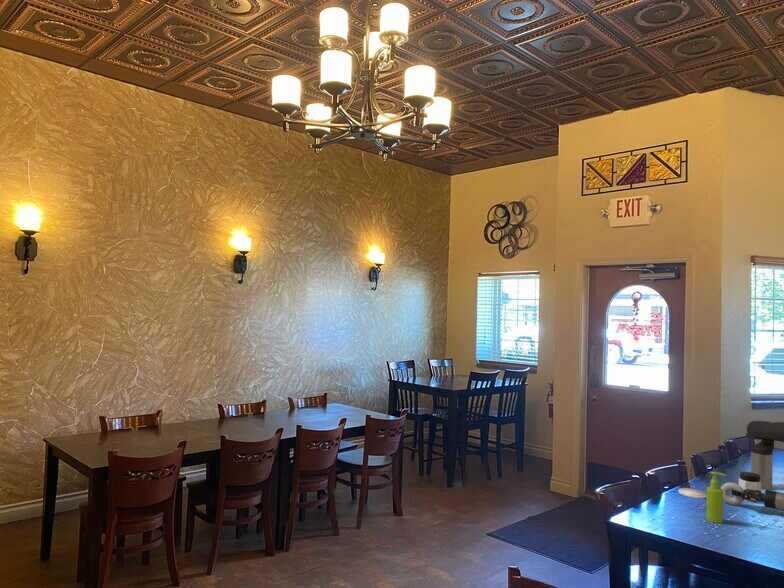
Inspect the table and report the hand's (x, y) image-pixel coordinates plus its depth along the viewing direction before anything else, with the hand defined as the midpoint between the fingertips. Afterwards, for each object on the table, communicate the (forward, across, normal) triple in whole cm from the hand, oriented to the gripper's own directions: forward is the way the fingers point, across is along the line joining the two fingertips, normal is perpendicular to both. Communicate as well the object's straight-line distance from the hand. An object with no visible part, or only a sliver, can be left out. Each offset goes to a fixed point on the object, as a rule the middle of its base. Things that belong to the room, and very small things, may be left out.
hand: (733, 491), depth 259 cm
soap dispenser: (0, +30, +6) cm, 31 cm away
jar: (-4, -15, +6) cm, 17 cm away
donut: (0, 0, +6) cm, 6 cm away
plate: (+17, -3, +6) cm, 18 cm away
